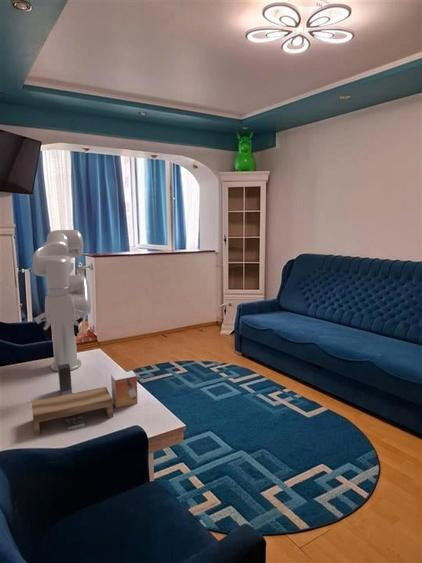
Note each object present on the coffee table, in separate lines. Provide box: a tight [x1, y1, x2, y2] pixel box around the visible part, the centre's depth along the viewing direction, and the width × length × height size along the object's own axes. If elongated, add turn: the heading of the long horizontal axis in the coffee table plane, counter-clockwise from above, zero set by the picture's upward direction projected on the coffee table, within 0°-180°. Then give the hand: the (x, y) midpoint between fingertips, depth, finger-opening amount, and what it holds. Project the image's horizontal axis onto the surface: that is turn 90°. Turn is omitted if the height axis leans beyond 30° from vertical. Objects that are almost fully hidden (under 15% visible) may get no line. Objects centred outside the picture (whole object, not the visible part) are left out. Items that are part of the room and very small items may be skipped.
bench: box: [31, 386, 114, 436], centre depth 130 cm, size 10×24×6 cm, turn 116°
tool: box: [57, 364, 79, 417], centre depth 141 cm, size 22×4×10 cm, turn 26°
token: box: [65, 415, 85, 432], centre depth 127 cm, size 5×5×2 cm
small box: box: [110, 370, 138, 409], centre depth 140 cm, size 8×6×10 cm
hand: (62, 337), depth 146 cm, fingers open, 9 cm apart
